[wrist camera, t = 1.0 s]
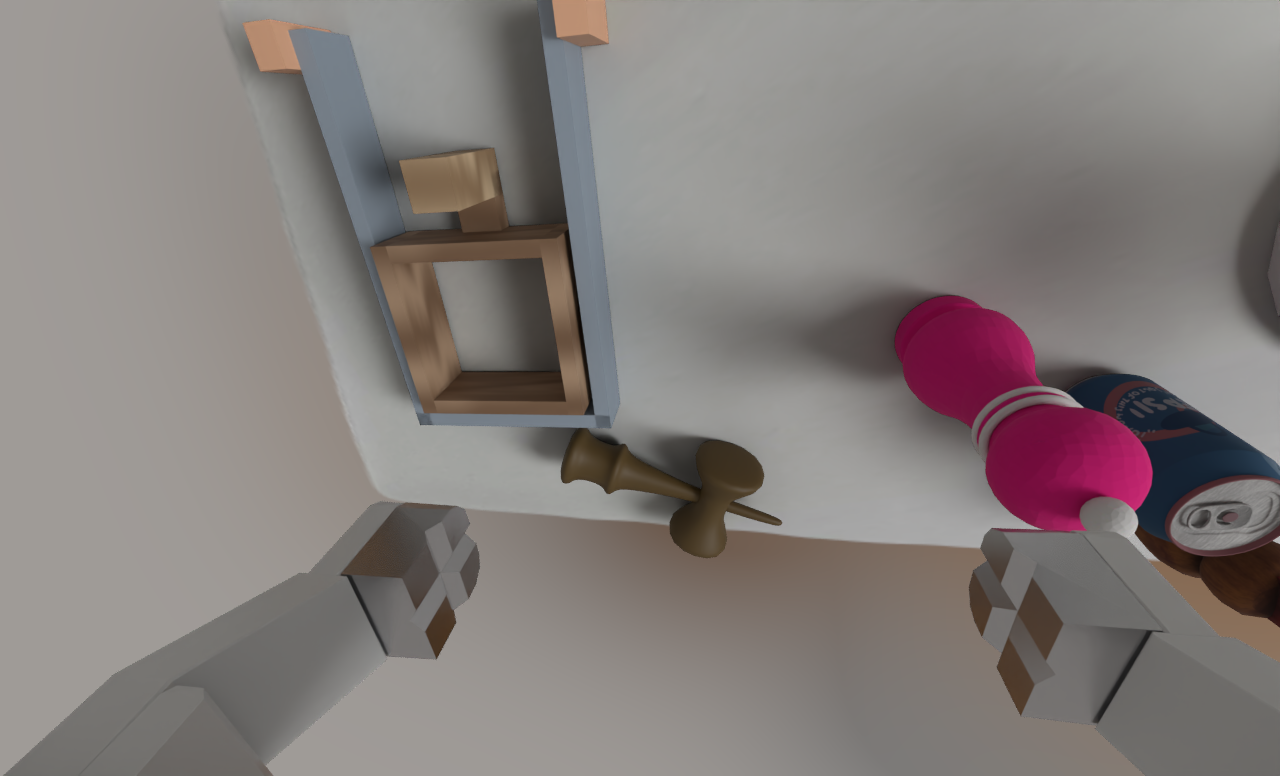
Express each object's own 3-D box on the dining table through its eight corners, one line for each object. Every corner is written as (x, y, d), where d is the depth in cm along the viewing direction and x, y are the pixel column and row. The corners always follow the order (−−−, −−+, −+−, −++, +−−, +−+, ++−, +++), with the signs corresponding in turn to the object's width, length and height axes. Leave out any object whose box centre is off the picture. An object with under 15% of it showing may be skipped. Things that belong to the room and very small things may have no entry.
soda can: (1161, 358, 36) (1337, 462, 26) (1142, 439, 39) (1293, 560, 29) (1047, 374, 38) (1169, 476, 27) (1038, 449, 41) (1145, 568, 30)
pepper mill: (883, 381, 40) (1002, 594, 23) (891, 292, 36) (1039, 462, 19) (985, 376, 38) (1197, 598, 21) (1004, 283, 35) (1273, 457, 18)
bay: (306, 33, 34) (242, 23, 29) (604, -5, 31) (583, -24, 26) (424, 401, 47) (393, 432, 43) (640, 403, 44) (630, 437, 40)
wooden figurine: (1133, 444, 39) (1332, 611, 26) (1216, 453, 39) (1462, 629, 26) (1091, 510, 43) (1250, 687, 30) (1166, 519, 42) (1363, 704, 29)
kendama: (586, 390, 45) (802, 462, 45) (566, 469, 50) (760, 534, 50) (565, 429, 40) (809, 509, 40) (546, 512, 45) (761, 584, 45)
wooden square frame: (387, 156, 37) (320, 166, 31) (565, 142, 35) (531, 150, 28) (452, 383, 46) (410, 426, 40) (597, 384, 43) (576, 429, 37)
